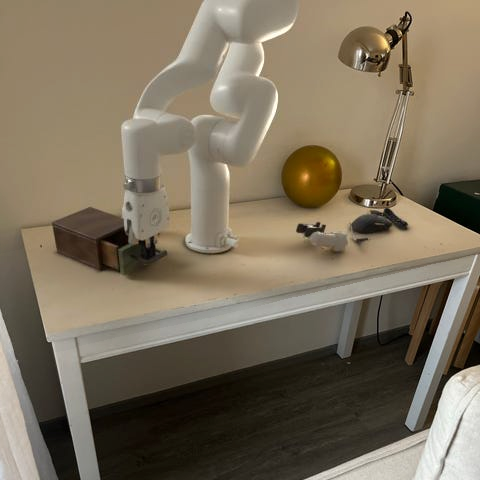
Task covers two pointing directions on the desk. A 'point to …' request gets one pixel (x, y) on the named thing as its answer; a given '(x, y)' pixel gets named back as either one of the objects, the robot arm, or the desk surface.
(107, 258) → the drawer
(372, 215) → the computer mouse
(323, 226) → the clip-on lamp
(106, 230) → the cabinet
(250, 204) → the desk surface
